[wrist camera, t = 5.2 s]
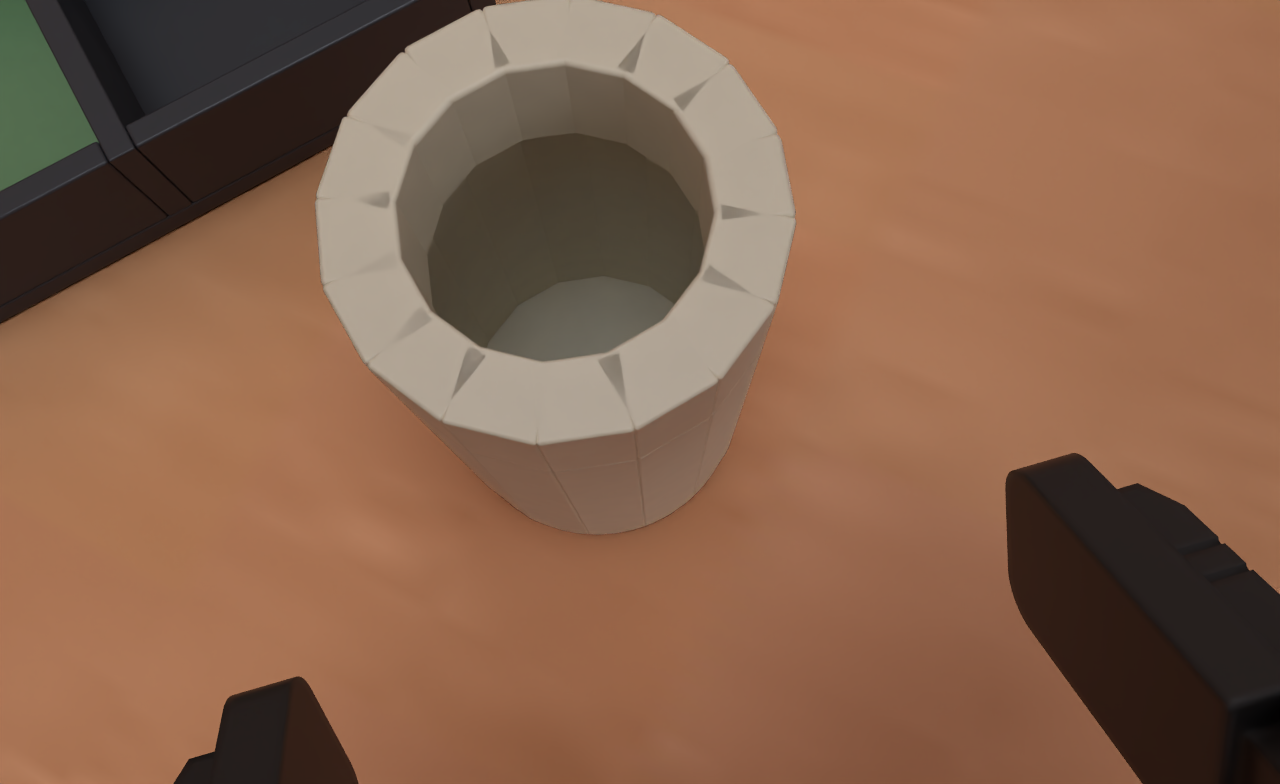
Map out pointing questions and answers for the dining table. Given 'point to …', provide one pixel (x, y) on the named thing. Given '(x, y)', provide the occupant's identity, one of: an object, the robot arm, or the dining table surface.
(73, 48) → the tray
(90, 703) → the dining table surface
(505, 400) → the jar
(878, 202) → the dining table surface
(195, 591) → the dining table surface
